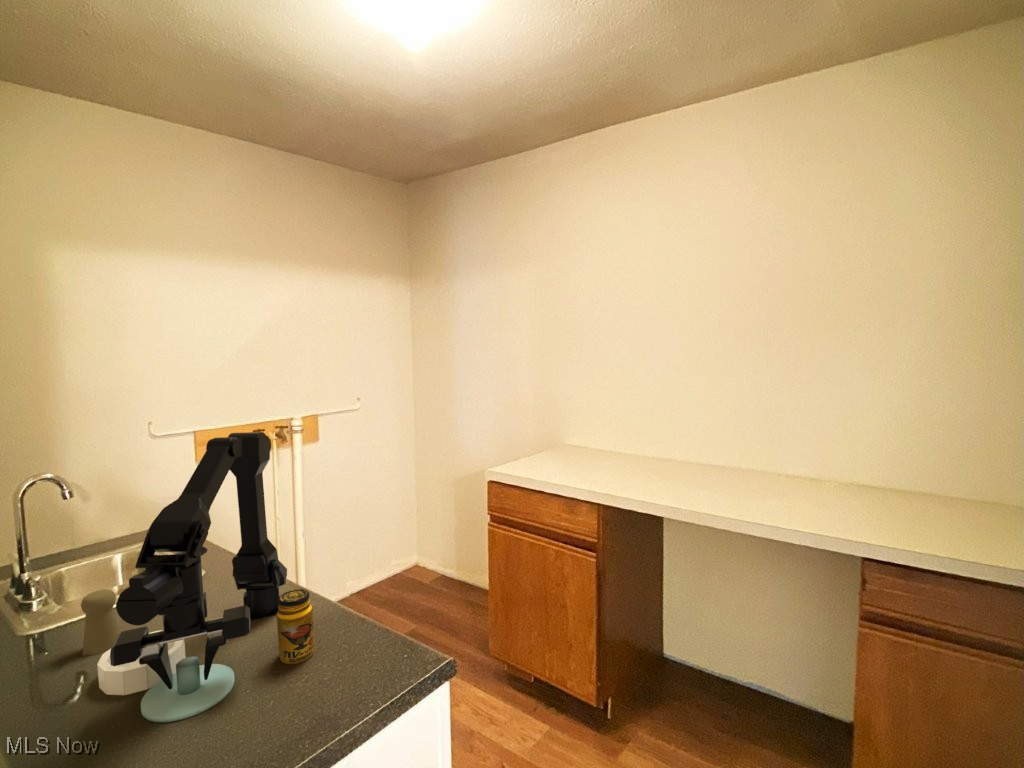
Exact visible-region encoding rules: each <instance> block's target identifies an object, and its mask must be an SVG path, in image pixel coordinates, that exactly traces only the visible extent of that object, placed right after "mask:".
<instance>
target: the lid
mask: <svg viewBox="0 0 1024 768" xmlns="http://www.w3.org/2000/svg"><path fill="white" fill-rule="evenodd" d="M172 675H173V687H172V689H168V687H167V686H166V685H165V683H164V682H163V681H162V680H161V681H160V682H158V683H157V684H156V685H154V686H153V687H152V688H150V689H148V690H147V692H146V693H144V696H143V697H142V699H141V700H140V711H141V712H140V713H141V716H142V717H143V718H145V719H146V720H148V721H149V722H154V723H171V722H177V721H181V720H185V719H187V718H188V719H189V718H191V717H193V716H197V715H199V714H201V713H204V712H205V711H207V710H208V709H210V708H212V707H214V706H216V705H217V704H218V703H219V702H221V701H222V700H223V699H225V697H226V696H228V694H229V693H230V692H231V691H232V689H233V688H234V685H235V673H234V671H233V669H232V668H231V667H229V666H228V665H225V664H220V663H212V665H211V669H210V672H209V676H208V679H207V680H205V679H204V664H201V665H200V658H199V657H198V656H188V657H186V658H185V659H182V660H181V661H179V662H178V663H177V664H176V673H174V674H172Z"/></svg>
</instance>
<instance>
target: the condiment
mask: <svg viewBox="0 0 1024 768" xmlns="http://www.w3.org/2000/svg"><path fill="white" fill-rule="evenodd" d="M310 602H311V598H310V592H309V591H308V590H307V589H305V588H294V589H290V590H287V591H285V592H283V593H281V595H279V599H278V603H279V605H278V609H279V610H278V612H277V615H276V624H277V627H276V628H277V640H278V658H279V660H280V662H281V663H282V664H286V665H295V664H300V663H302V662H304V661H306V660H309V659H310V658H311V657H312V656H313V655H314V651H315V645H316V643H315V631H314V629H315V628H314V612H313V610H314V609H313V606H312V604H311V603H310Z"/></svg>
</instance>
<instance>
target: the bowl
mask: <svg viewBox="0 0 1024 768" xmlns="http://www.w3.org/2000/svg"><path fill="white" fill-rule="evenodd" d="M160 631H164V629H163V630H162V629H160V630H155V631H151V632H150V631H149V634H151V633H156V632H160ZM110 652H111V649H109V650H108V651H106V652H103V653H101V654H102V655H101V656H100V658H99V661H97V663H96V664H97V665H96V666H97V677H98V679H97V680H98V688H99V690H101V691H102V692H103V693H104V694H105V695H108V696H109V695H111V696H127V695H132V694H134V693H135V694H136V693H139V692H143V691H146V690H147V691H148V690H150V689H151V688H152V687H153V686H154V685H156V684H157V683H158V682H160V681H161V680H162V679H161V678H160V676H159V675H158V674H157V673H156V672H155V671H154V670H153V669H151V668H150V667H149V666H148V665H147V664H143V665H140V664H139V660H140V657H141V656H140V657H139V658H138V659H137V660H136V661H135V662H131V663H126V664H122V665H118V666H112V665H111V661H110ZM168 655H169V660H170V665H171V670H172V674H174V673H176V664H177V663H178V662H179V661H181V660H182V659H185V658H187V657H186V645H185V639H183V640H178V641H174V642H170V643H168Z"/></svg>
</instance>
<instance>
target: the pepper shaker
mask: <svg viewBox="0 0 1024 768" xmlns="http://www.w3.org/2000/svg"><path fill="white" fill-rule="evenodd" d="M116 602H117V595H116V593H115V592H114V591H113V590H112V589H108V588H107V589H106V588H105V589H100V590H95V591H92V592H90V593H88V594H87V595H85V596H84V597H83V598H82V600H81V603H80V607H81V610H82V612H83V613H85V616H84V617H85V618H84V627H83V628H84V631H83V641H82V642H83V643H82V654H81V655H82V656H83V657H86V656H93V655H99V654H104V653H105V652H106V651H108V650H109V649H111V648H112V646H113V644H114V642H115V640H116V638H117V636H118V635H119V634H120V633H121V632H120V627H119V623H118V620H117V617H116V612H115V609H114V605H116Z"/></svg>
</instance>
